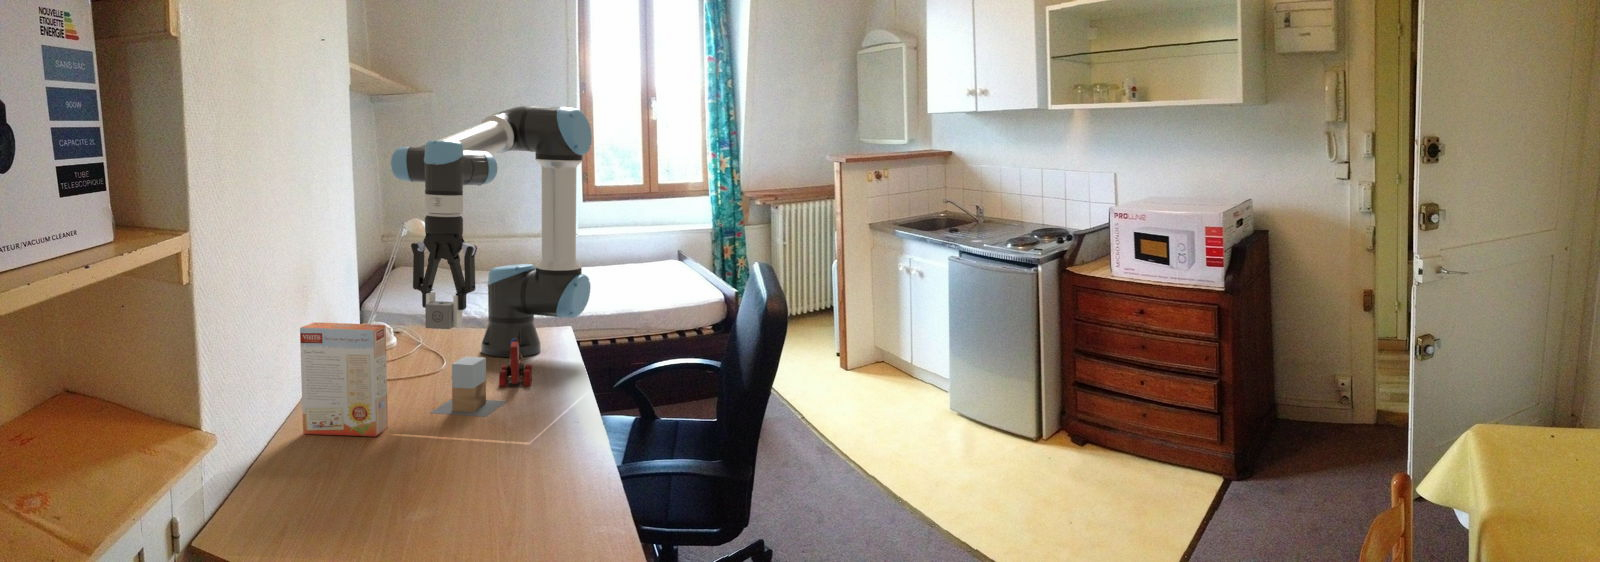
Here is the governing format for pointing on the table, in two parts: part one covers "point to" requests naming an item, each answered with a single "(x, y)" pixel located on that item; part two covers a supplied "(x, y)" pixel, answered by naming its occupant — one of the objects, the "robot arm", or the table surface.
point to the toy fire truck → (515, 368)
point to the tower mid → (468, 372)
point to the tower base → (468, 398)
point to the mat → (482, 411)
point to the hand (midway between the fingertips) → (444, 323)
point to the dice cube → (439, 315)
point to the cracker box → (344, 379)
